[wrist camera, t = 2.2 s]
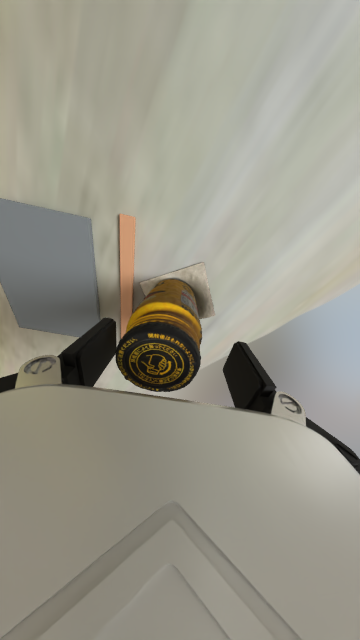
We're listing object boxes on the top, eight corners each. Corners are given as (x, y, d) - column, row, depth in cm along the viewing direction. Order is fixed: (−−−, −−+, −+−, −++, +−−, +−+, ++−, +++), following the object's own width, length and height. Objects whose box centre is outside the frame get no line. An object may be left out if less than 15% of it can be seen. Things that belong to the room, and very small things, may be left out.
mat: (-31, 191, 14) (-39, 189, 13) (90, 218, 15) (87, 217, 14) (23, 325, 21) (19, 327, 21) (101, 338, 22) (99, 340, 21)
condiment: (139, 282, 18) (72, 333, 7) (203, 261, 16) (239, 286, 6) (159, 328, 21) (134, 411, 10) (214, 314, 19) (251, 393, 9)
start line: (121, 214, 14) (119, 213, 14) (135, 217, 14) (134, 216, 14) (122, 346, 23) (121, 348, 22) (131, 348, 23) (130, 349, 22)
